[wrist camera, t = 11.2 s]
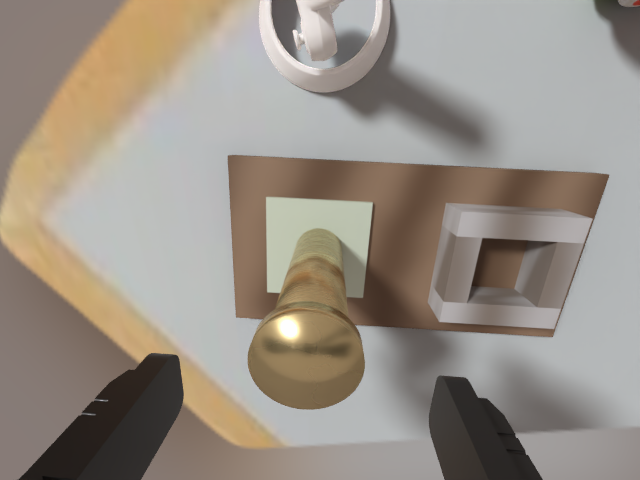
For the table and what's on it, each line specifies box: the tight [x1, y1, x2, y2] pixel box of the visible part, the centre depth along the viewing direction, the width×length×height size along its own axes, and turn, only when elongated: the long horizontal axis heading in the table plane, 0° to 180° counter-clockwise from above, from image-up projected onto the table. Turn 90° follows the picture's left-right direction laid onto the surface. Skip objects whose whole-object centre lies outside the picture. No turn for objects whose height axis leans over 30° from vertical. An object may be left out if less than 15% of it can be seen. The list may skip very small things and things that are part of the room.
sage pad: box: [266, 197, 373, 298], centre depth 21 cm, size 7×7×1 cm
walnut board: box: [228, 155, 609, 337], centre depth 20 cm, size 24×12×4 cm, turn 87°
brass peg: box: [248, 228, 365, 409], centre depth 15 cm, size 4×4×11 cm
